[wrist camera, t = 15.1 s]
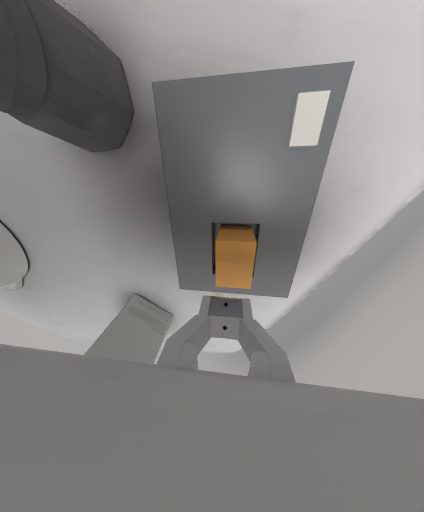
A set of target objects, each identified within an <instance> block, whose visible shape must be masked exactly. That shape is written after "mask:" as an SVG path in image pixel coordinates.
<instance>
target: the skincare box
mask: <svg viewBox="0 0 424 512" xmlns="http://www.w3.org/2000/svg"><path fill="white" fill-rule="evenodd" d="M172 318H173V315H171V314H169V313H168V312H166V311H164V310H163V309H161V308H159V307H157V306H156V305H154V304H152V303H151V302H149V301H147V300H145V299H144V298H142V297H140V296H139V295H137V294H135V295H134V296H133V297H132V298H131V299H130V300H129V302H128V303H127V304H126V305H125V307H124V308H123V309H122V310H121V311H120V313H119V314H118V315H117V316H116V317H115V319H114V320H113V321H112V322H111V323H110V324H109V326H108V327H107V328H106V329H105V330H104V332H103V333H102V334H101V335H100V336H99V338H98V339H97V340H96V341H95V342H94V344H93V345H92V346H91V347H90V349H89V350H88V351H87V352H86V353H85V354H84V355H87V356H95V357H102V358H110V359H118V360H125V361H133V362H141V363H148V364H154V361H155V359H156V356H157V354H158V351H159V349H160V347H161V345H162V342H163V340H164V337H165V335H166V333H167V330H168V328H169V325H170V323H171V320H172Z"/></svg>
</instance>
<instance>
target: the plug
mask: <svg viewBox="0 0 424 512" xmlns="http://www.w3.org/2000/svg"><path fill="white" fill-rule="evenodd" d="M256 244H257V241H256V239H255V236H254V233H253V230H252V227H251V226H225V225H220V229H219V232H218V235H217V238H216V287H229V288H242V289H251V283H252V275H253V267H254V259H255V252H256Z"/></svg>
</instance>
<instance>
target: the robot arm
mask: <svg viewBox="0 0 424 512" xmlns="http://www.w3.org/2000/svg"><path fill="white" fill-rule="evenodd" d="M27 271H28V262H27V258H26V256H25V253H24V251H23V250H22V248H21V246H20V245H19V243H18V242H17V240H16V239H15V238H14V237H13V235H12V234H11V233H10V232H9V231H8V230H7V229H6V228H5V227H4V226H3V225H2V224H1V223H0V289H2V288H6V289H10V290H16V289H19V288H21V287H22V278H23V277H24V276H25V275H26V273H27ZM211 337H215V338H227V339H234V340H238V341H239V343H240V345H241V346H242V348H243V349H244V351H245V353H246V355H247V357H248V358H249V360H250V362H251V363H250V368H249V374H248V376H241V375H233V374H226V373H218V372H210V371H202V370H198V361H197V355H198V354H199V353H200V351H201V350H202V349H203V347H204V346H205V345H206V343H207V342H208V341H209V339H210V338H211ZM0 512H424V399H419V398H411V397H403V396H395V395H388V394H379V393H372V392H365V391H357V390H349V389H342V388H334V387H326V386H318V385H311V384H303V383H296V382H295V379H294V376H293V373H292V370H291V367H290V363H289V360H288V357H287V354H286V353H285V352H284V350H283V349H282V348H281V347H280V346H279V345H278V344H277V343H276V342H275V341H274V340H273V338H272V337H271V336H270V335H269V334H268V333H267V332H266V331H265V330H264V328H263V327H262V326H261V325H260V324H259V323H258V322H257V321H256V320H253V316H252V309H251V303H250V299H239V298H225V297H215V296H203V299H202V303H201V307H200V310H199V314H198V315H195V316H194V317H193V318H192V319H190V320H189V321H188V322H187V323H186V324H185V325H184V326H182V327H181V328H180V329H179V330H178V331H177V332H175V333H174V334H173V335H172V336H171V337H170V338H169V339H167V341H166V343H165V345H164V348H163V351H162V353H161V355H160V357H159V360H158V362H157V365H156V364H148V363H141V362H133V361H125V360H118V359H110V358H102V357H95V356H87V355H79V354H71V353H64V352H56V351H49V350H40V349H33V348H26V347H18V346H11V345H4V344H0Z"/></svg>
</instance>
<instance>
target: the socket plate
mask: <svg viewBox="0 0 424 512" xmlns="http://www.w3.org/2000/svg"><path fill="white" fill-rule="evenodd" d="M354 62H355V61H352V62H342V63H333V64H323V65H314V66H304V67H294V68H285V69H275V70H266V71H256V72H247V73H237V74H228V75H218V76H209V77H199V78H189V79H180V80H170V81H161V82H152V87H153V95H154V102H155V109H156V117H157V124H158V131H159V139H160V146H161V153H162V160H163V168H164V175H165V182H166V190H167V197H168V204H169V212H170V219H171V226H172V234H173V241H174V248H175V256H176V263H177V270H178V278H179V285H180V289H187V290H199V291H211V292H223V293H235V294H247V295H259V296H271V297H283V298H288V295H289V292H290V288H291V285H292V281H293V278H294V274H295V271H296V267H297V264H298V260H299V256H300V253H301V249H302V246H303V242H304V239H305V235H306V232H307V228H308V225H309V221H310V217H311V214H312V210H313V207H314V203H315V200H316V196H317V193H318V189H319V186H320V182H321V178H322V175H323V171H324V168H325V164H326V161H327V157H328V154H329V150H330V147H331V143H332V140H333V136H334V132H335V129H336V125H337V122H338V118H339V115H340V111H341V108H342V104H343V101H344V97H345V93H346V90H347V86H348V83H349V79H350V76H351V72H352V69H353V65H354ZM220 225H225V226H251V227H252V230H253V233H254V236H255V239H256V241H257V244H256V252H255V259H254V267H253V275H252V283H251V289H242V288H229V287H216V238H217V235H218V232H219V229H220Z"/></svg>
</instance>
